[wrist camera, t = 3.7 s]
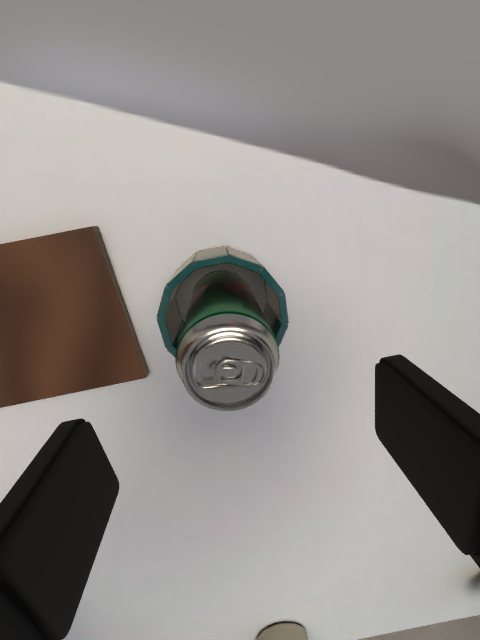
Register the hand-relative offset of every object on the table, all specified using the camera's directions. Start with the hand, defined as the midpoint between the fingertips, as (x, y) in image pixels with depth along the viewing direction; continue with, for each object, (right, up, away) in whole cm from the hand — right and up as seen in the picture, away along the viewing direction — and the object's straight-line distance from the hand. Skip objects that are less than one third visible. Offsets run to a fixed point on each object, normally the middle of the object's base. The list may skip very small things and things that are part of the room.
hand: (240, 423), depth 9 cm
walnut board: (-19, +3, +14) cm, 24 cm away
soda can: (-2, +5, +15) cm, 16 cm away
